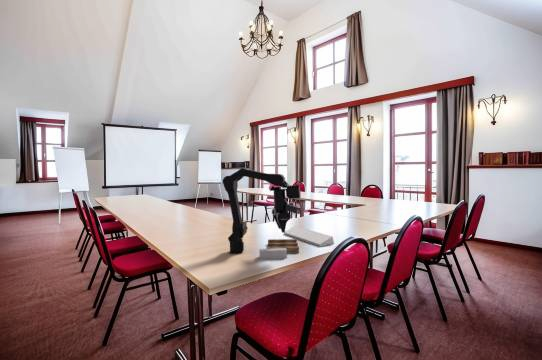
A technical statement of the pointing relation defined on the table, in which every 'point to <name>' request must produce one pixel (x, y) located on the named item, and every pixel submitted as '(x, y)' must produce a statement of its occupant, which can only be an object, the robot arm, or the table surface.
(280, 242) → the drying rack
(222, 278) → the table surface
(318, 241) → the decorative molding
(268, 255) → the clay strip
